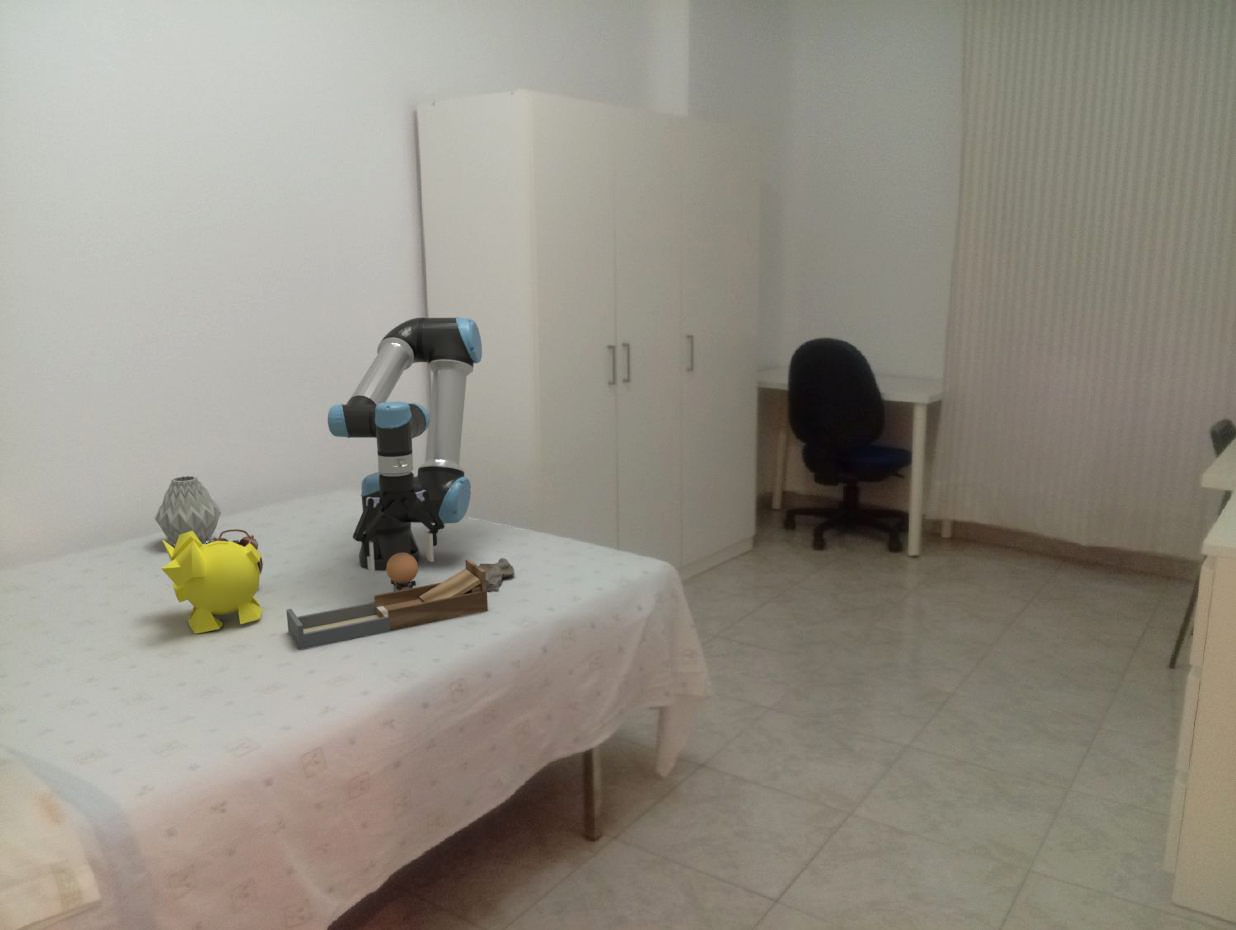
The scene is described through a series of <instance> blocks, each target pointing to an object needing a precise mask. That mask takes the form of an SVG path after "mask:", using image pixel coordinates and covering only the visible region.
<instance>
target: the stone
mask: <svg viewBox="0 0 1236 930" xmlns="http://www.w3.org/2000/svg"><path fill="white" fill-rule="evenodd" d="M478 566H479V567H480V568H482V569H483V570H484V571H485V572H486V591H487V592H491V593H493V592H499V591H500V586H501V584H502V580H503V578H507V577H510V576H513V575H515V573H516V572H515V569H514V567H513V565H512V564H511V563H509V560H508V559H507V558H505V557H502V558H499V559H498V562H495V563H479V565H478Z"/></svg>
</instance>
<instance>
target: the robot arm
mask: <svg viewBox="0 0 1236 930" xmlns="http://www.w3.org/2000/svg"><path fill="white" fill-rule="evenodd" d="M482 346H483V344H482V338H481V333H480V330H479V327H478V325H477V322H476V321H474V319H472V318H469V317H465V318H464V317H459V316H456V317H415V318H410V319H407V320H405V321H404V322H402V323H400V324H398V325H397V326H394V328H391V330H390V331H389V332H388V333H386V335H384V336H383V338H382V340H380V343H379V344H378V346H377V350H376V354H377V355H376V356H375V358H374V359H373V361H372V363H371V365H370V366H369V368H368V369H367V371H366V372H365V374H364V376H363V377H362V379H361V381H360V382H359V383H358V385H357V387H356V388H355V390H354V392H353V393H352V395H351V397H350V398H349V400H348V401H347V402H346V404H343V403H340V404H335V405H334V404H333V405H332V406H331V407H330V408H329V410H328V414H327V426H328V429H329V430H328V431H329V432H330V434H332V436H334V437H338V438H347V439H350V438H353V439H354V438H357V439H358V438H363V439H365V438H376V450H377V468H378V469H377V471H378V472H374V473H371V474H369V475H366V476H365V477H364V478H362V480H361V494H360V497H361V504H362V513H361V515H360V518H359V521H357V525H356V527H355V530H354V532H353V535H352V538H353V539H354V540H355V541H356V542H359V543H361V545H360V550H359V555H358V560H359V565H360V566H361V567H363V568H366V569H368V571H370V572H371V573H373V572H375V571H376V570H385V571H386V566H387V562H388V560H389V559H390V558H391V557H392V556H393V555H395V554H397V553H408V554H410V555H412V556H413V557H414V558H415V559H416V561H417V563H418V562H419V561H420V559H421V556H420V555H421V554H420V553H421V552H420V547H419V545H418V543H417V540H416V538H415V536H414V533H413V531H412V523H415V524H422V525H423V526H424V527H426V528H427V529H428V530H427V531H425V548H426V549H425V550H426V553H425V554H426V560H427V561H429V562H430V563H434V562H435V560H434V559H435V558H434V557H435V556H434V555H435V554H434V547H436V546H437V545H438V539H437V538H438V537H437V536H438V533H439V531H440V530H443V529H444V528H445V525H446V524H457V523H459V522H461V521H462V520H463V519H464V517H465V516H466V514H467V511H468V510H469V509H468V508H469V505H470V501H471V493H472V492H471V491H472V490H471V486H472V485H471V481H470V479H469V478H467V476H465V471H464V470H463V468H462V467H461V466H460V459H461V458H460V457H461V447H462V445H461V444H462V436H463V435H462V434H463V424H464V423H463V421H464V420H463V419H464V410H465V399H466V386H467V377H468V376H469V375H470V374H471V373H473V371H474V364H478V363H480V362H481V361H482V358H483V347H482ZM416 363H417V364H418V363H427V367H428V368H429V370H430V372H432V381H431V383H432V384H431V394H430V405H429V411H428V410H427V408H426V407H425V406H423V405H422V404H420V403H416V402H412V403H408V402H405V401H388V399H389V397H390V396H391V394H392V392H393V391H394V389H395V387H396V386H397V383H398V381H399V380H400V378H401V376H402V375H403V372H404V371H406V370H408V369H409V368H411V367H412V365H413V364H416ZM426 430H427V434H426V436H427V438H426V446H425V457H424V458H425V459H424V462H423V463H422V464H421V465H420V466H418V468H417V476H415V475H414V473H413V470H414V457H413V439H414V438H418V437H420V436H421V435H423V433H424V432H426Z"/></svg>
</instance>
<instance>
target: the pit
mask: <svg viewBox="0 0 1236 930" xmlns="http://www.w3.org/2000/svg"><path fill="white" fill-rule="evenodd" d="M285 610H286V619H287V629H288V630H287V631H288V633H289V636H290V637H291V638H292V640H293V641H294V643H295V645H296V646H297V647H298V650H299V651H300V650H301V651H302V650H304V649H305V650H306V649H309V648H315V647H319V646H324V645H330V644H334V643H338V642H339V643H340V642H344V641H349V640H354V639H357V638H362V637H368V636H372V635H376V634H377V635H378V634H381V633H386V632H391V631H390V619H389V617H388V616H387V617H382V618H379V617H378V616H377V615H376V603H375V601H371V602H367V603H362V604H355V605H350V606H346V607H340V608H335V609H330V610H326V611H319V612H315V613H314V612H313V613H309V614H304V615H300V616H297V614H296V613H295V612H294V610H293V609H292V608H288V609H285Z"/></svg>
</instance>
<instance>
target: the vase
mask: <svg viewBox="0 0 1236 930" xmlns="http://www.w3.org/2000/svg"><path fill="white" fill-rule="evenodd" d="M170 481H171V483H170V484H169V486H168V489H167V490H166V491H165V492H164V496H163V499H162V504H161V505H160V506H159V507H158V510H157V513H156V514H155V518H154V520H155V521H156V523H157V525H158V526H159V527H160V528H161V531H162V532H163V534H164V535H165V536H166V538H167V539H168V540H169V541H170V542H172V545H174V544H175V545H176V543H177V540H178V537H179V535H180V534H184V533H187V532H190V531H194V533H195V534H196V536H197V537H198V539H199V540H200V542H201V543H202V544H205V543H206V541H209V542H210V538H211V537H212V536H213V534H214V533H215V531H216V529H217V526H218V523H219V519H220V517H221V514H222V511H221V508H220V507H219V506H218V504H217V502H216V501H215V500H214V499H212V497H211V494H210V492H209V491H208V488H206V487H205V486H204V485H203V484H202V482H201V481H200V480H198V476H194V475H191V476H190V475H187V476H180V477H179V476H178V477H177V476H176V478H172V479H171V480H170Z"/></svg>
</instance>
